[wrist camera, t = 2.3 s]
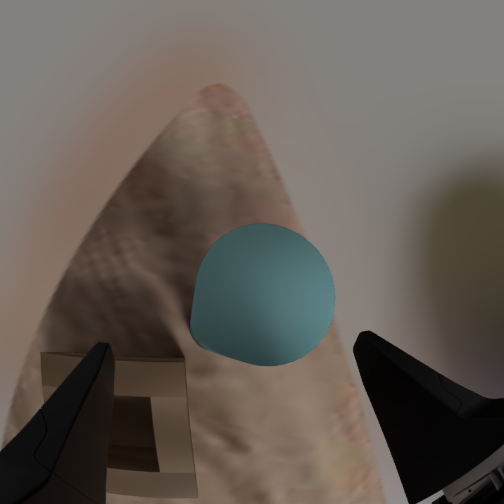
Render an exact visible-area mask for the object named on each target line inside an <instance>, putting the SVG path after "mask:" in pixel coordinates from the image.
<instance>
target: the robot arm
mask: <svg viewBox="0 0 504 504" xmlns="http://www.w3.org/2000/svg"><path fill="white" fill-rule="evenodd" d="M353 353H354V356H355V359H356V362H357V366H358V369H359V372H360V376H361V379H362V382H363V385H364V387H365V390H366V392H367V395H368V397H369V399H370V402H371V404H372V406H373V409H374V412H375V414H376V416H377V419H378V421H379V424H380V426H381V429H382V432H383V434H384V437H385V439H386V442H387V444H388V447H389V449H390V452H391V455H392V457H393V460H394V463H395V466H396V469H397V471H398V474H399V477H400V480H401V483H402V485H403V488H404V491H405V494H406V497H407V500H408V503H409V504H417V503H418V502H420V501H422V500H424V499H426V498H428V497H430V496H431V495H433V494H435V493H437V492H438V491H440V490H442V491H443V493H444V495H442V496H441V497H439V498H438V499H437V500H435V501H433V502H432V504H504V398H498V399H490V398H485V397H483V396H481V395H479V394H477V393H475V392H473V391H471V390H469V389H467V388H464V387H462V386H461V385H459V384H457V383H455V382H453V381H452V380H450V379H448V378H446V377H445V376H443V375H442V374H440V373H438V372H437V371H435V370H433V369H432V368H430V367H428V366H427V365H425V364H424V363H422V362H420V361H419V360H417V359H415V358H414V357H412V356H411V355H409V354H407V353H405V352H404V351H402V350H401V349H399V348H398V347H396V346H394V345H393V344H391V343H389V342H388V341H386V340H385V339H383V338H381V337H380V336H378V335H377V334H375V333H373V332H371V331H363V332H361V333H359V335H358V338H357V340H356V342H355V344H354V347H353ZM114 376H115V359H114V356H113V353H112V349H111V346H110V344H109V343H104V342H98V343H97V344H96V345H95V346H94V347H93V348H92V349H91V350H90V351H89V352H88V353H87V355H86V356H85V357H84V358H83V359H82V360H81V361H80V362H79V364H78V365H77V366H76V367H75V368H74V369H73V370H72V372H71V373H70V374H69V375H68V376H67V377H66V378H65V380H64V381H63V382H62V383H61V384H60V385H59V387H58V388H57V389H56V390H55V391H54V392H53V394H52V395H51V396H50V397H49V398H48V400H47V401H46V402H45V403H44V404H43V406H42V407H41V409H39V410H38V412H37V413H36V414H35V415H34V416H33V418H32V419H31V420H30V421H29V422H28V423H27V425H26V426H25V427H24V428H23V429H22V430H21V431H20V432H19V433H18V434H17V435H16V436H15V437H14V438H13V439H12V440H11V441H10V442H9V443H8V444H7V445H6V446H5V447H4V448H3V449H2V450H1V451H0V504H106V477H107V461H108V449H109V438H110V429H111V421H112V413H113V404H114Z"/></svg>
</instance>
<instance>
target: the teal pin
mask: <svg viewBox="0 0 504 504" xmlns="http://www.w3.org/2000/svg"><path fill="white" fill-rule="evenodd" d="M334 309H335V288H334V282H333V278H332V275H331V272H330V270H329V267H328V265H327V263H326V262H325V260H324V258H323V256H322V255H321V254H320V253H319V251H318V250H317V249H316V248H315V247H314V246H313V245H312V244H311V243H310V242H309V241H308V240H307V239H306V238H304V237H303V236H301V235H300V234H298V233H296V232H294V231H292V230H290V229H287V228H285V227H282V226H278V225H273V224H252V225H246V226H243V227H239V228H237V229H235V230H232V231H230V232H229V233H227V234H226V235H224V236H222V237H221V238H220V239H219V240H218V241H216V242H215V244H214V245H213V246H212V247H211V248H210V249H209V251H208V252H207V253H206V255H205V256H204V258H203V260H202V262H201V264H200V267H199V270H198V273H197V278H196V283H195V290H194V297H193V305H192V312H191V320H190V332H191V335H192V338H193V339H194V341H195V342H196V343H197V344H198V345H199V346H200V347H202V348H203V349H206V350H209V351H211V352H214V353H217V354H220V355H223V356H226V357H230V358H233V359H236V360H239V361H242V362H246V363H249V364H253V365H259V366H277V365H283V364H287V363H290V362H293V361H295V360H297V359H299V358H301V357H303V356H304V355H306V354H307V353H309V352H310V351H311V350H312V349H313V348H315V347H316V346H317V344H318V343H319V342H320V341H321V340H322V338H323V337H324V335H325V334H326V332H327V330H328V328H329V326H330V324H331V321H332V318H333V314H334Z"/></svg>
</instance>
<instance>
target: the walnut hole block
mask: <svg viewBox="0 0 504 504" xmlns="http://www.w3.org/2000/svg"><path fill="white" fill-rule="evenodd" d="M86 355H87V354H84V353H74V352H47V353H41V372H42V385H43V395H44V403H45V402H46V401H47V400H48V398H49V397H50V396H51V395H52V394H53V392H54V391H55V390H56V389H57V388H58V387H59V385H60V384H61V383H62V382H63V381H64V380H65V378H66V377H67V376H68V375H69V374H70V373H71V372H72V370H73V369H74V368H75V367H76V366H77V365H78V364H79V362H80V361H81V360H82V359H83V358H84V357H85V356H86ZM114 359H115V376H114V404H113V413H112V421H111V429H110V438H109V449H108V461H107V477H106V493H113V494H120V495H129V496H140V497H154V498H198V490H197V482H196V473H195V464H194V456H193V448H192V439H191V430H190V420H189V409H188V397H187V383H186V368H185V358H150V357H124V356H114Z"/></svg>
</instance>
